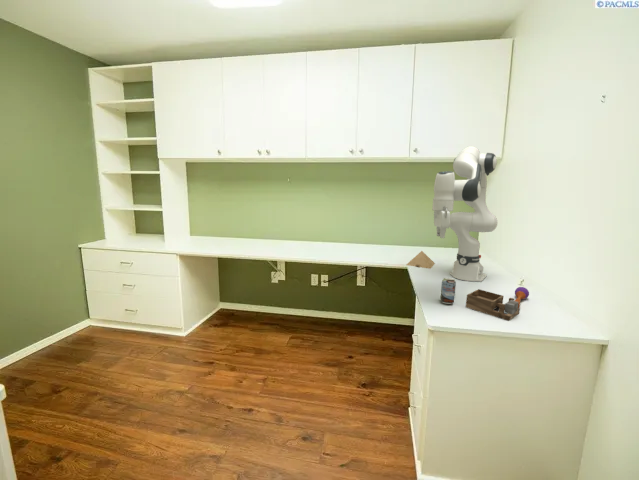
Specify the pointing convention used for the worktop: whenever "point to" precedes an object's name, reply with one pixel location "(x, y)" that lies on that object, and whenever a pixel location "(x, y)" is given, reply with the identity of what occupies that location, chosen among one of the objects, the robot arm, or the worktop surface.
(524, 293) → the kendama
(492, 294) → the tray
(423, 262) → the model pyramid
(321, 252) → the worktop surface
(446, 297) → the beverage can
